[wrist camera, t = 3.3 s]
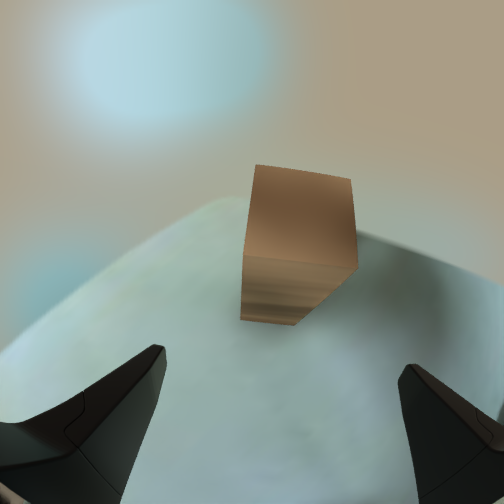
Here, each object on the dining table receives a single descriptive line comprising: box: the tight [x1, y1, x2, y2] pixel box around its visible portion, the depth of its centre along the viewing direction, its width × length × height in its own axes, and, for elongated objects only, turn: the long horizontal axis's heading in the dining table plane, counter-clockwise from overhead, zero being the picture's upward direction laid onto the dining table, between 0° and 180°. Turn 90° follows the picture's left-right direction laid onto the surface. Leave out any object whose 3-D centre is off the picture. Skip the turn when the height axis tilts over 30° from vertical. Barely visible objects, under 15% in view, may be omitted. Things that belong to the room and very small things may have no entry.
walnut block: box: [240, 165, 358, 325], centre depth 17 cm, size 4×4×13 cm
